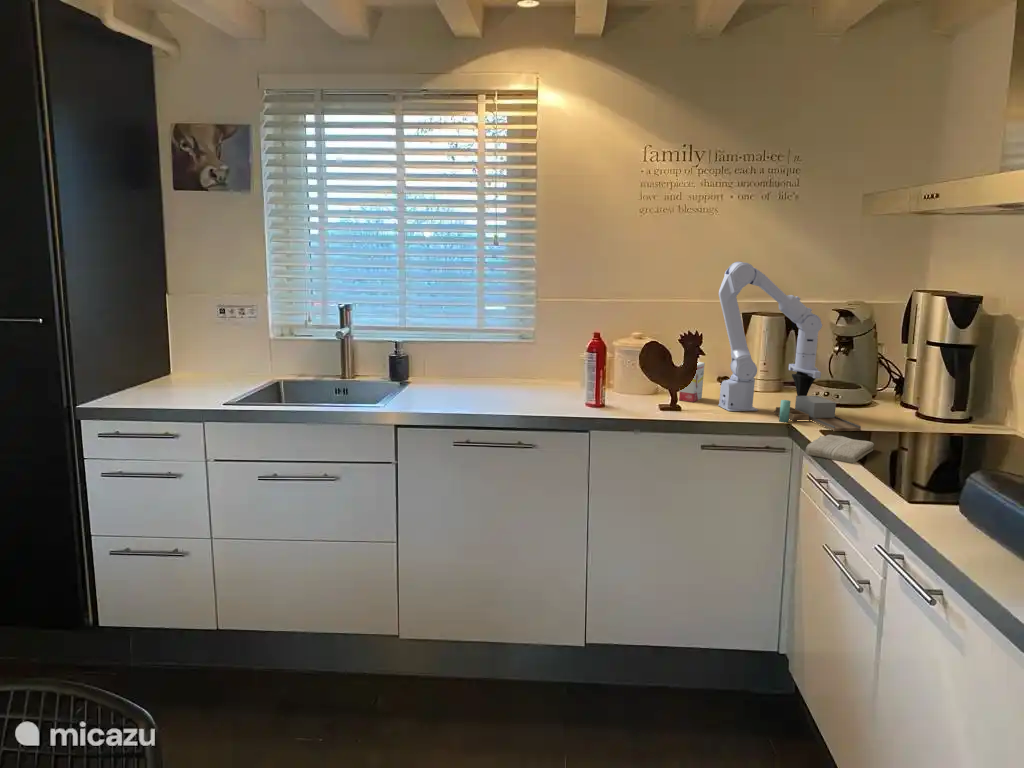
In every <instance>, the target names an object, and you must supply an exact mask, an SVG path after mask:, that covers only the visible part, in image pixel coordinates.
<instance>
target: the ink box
mask: <svg viewBox="0 0 1024 768" xmlns="http://www.w3.org/2000/svg"><path fill="white" fill-rule="evenodd" d="M697 362H698V363H697V370H696V374H695V376H694V378H693V380H692V381H691V383H690V384H689V385H688V386H687V387H685V388H684V389H682V390H680V389H679V395H678V396H679V397H678V401H682V402H683V401H684V402H690V403H694V402H696V401H697V402H698V401H699V400H701V399H702V398H703V387H704V386H703V385H704V376H705V366H706V365H705V364H706V363H705V362H703V361H697ZM683 363H684V362H682V363H681V366H682V365H683Z"/></svg>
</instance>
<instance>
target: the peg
mask: <svg viewBox="0 0 1024 768" xmlns="http://www.w3.org/2000/svg"><path fill="white" fill-rule="evenodd" d="M791 402H792V401H791V400H789V399H788V400H787V399H781V400H780V406H779V407H780V415H778V417H779V418H778V421H779V423H785V422H787V423H789V422H788V421H790V420H789V412H790V407H791Z"/></svg>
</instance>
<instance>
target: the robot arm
mask: <svg viewBox="0 0 1024 768" xmlns="http://www.w3.org/2000/svg"><path fill="white" fill-rule="evenodd" d="M724 271H725V272H724V277H723V279H722V281H721V284H720V287H719V289H718V298H719V303H720V307H721V311H722V315H723V319H724V324H725V329H726V333H727V337H728V342H729V346H730V356H731V362H730V370H731V372H732V374H731V376H729V379H724V380H722V382H721V383H720V389H719V391H720V392H719V401H718V402H719V403H718V404H717V406H718V407H720V408H723V409H724V410H726V411H728V412H742V411H743V412H744V411H745V412H752V411H753V412H754V411H756V412H757V411H758V410H759V409H758V408H756V407H754V405H753V404H754V392H755V382H756V378H755V377H756V375H757V373H758V367H757V364H756V363H755V362H754V360H753V359H752V355H751V352H750V350H749V347H748V343H747V338H746V334H745V330H744V326H743V322H742V321H743V320H742V316H741V311H740V308H739V303H738V298H737V296H738V295H739V294H740V292H741V291H742V289H743V288H744V287H746V286H748V285H753V286H756V287H759V288H760V289H761V290H763V291H764V293H766V294H767V295H768V296H769V297H771V298H772V299H773V300H774V301H776V302H777V303H778V304H777V305H778V310H779V311H780V312H781V313H782V314H783V315H785V317H787V318H788V319H789V320H790V321H791V322H792V323H794V324H796V327H797V328H798V332H797V334H798V335H797V339H796V351H795V358H794V359H795V361H794V363H788V371H793V372H796V373H792V374H791V378H792V380H793V382H794V385H795V390H796V396H808V393H809V391H810V388H811V387H812V385H813V384H814V382H815V381H816V379H821V375H822V372H821V371H819V368H818V367H816V360H817V350H818V341H819V339H818V338H819V332H820V331H821V329H822V328H823V324H822V321H821V317H819V315H818V314H814V313H813V312H812V311H813V309H812V308H811V307H807V306H806V305H805V304H804V303H803V302H802V301H801V298H800V297H799V296H797V295H796V296H795V295H794V294H788V295H786V293H785V292H784V291H783V290H781V288H779V286H777V284H775V283H774V282H773V281H772V280H771V279H770V278H769V277H768V276H767V275H766V274H764V273H763V272H762V271H760V270H759V269H757V267H754V266H753V265H752V264H750V263H749V262H743V261H735V262H733V263H732V264H730V265H729V266H728V268H727V269H726V270H724Z"/></svg>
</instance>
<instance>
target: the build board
mask: <svg viewBox="0 0 1024 768" xmlns="http://www.w3.org/2000/svg"><path fill="white" fill-rule="evenodd" d="M774 413H775V415H776V414H778V415H777V416H779V415H780V406H776V407H775V410H774ZM789 419H790V420H792V421H797V420H810V419H809V414H806V413H804V412H801V411H799V410H797V409H795V407H791V406H790V412H789ZM790 420H789V421H790ZM792 421H791V422H792Z"/></svg>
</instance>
